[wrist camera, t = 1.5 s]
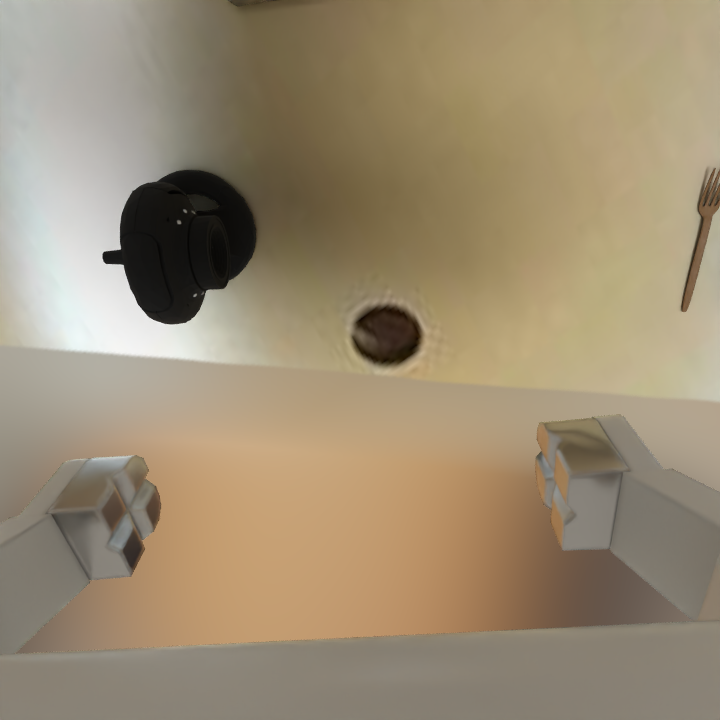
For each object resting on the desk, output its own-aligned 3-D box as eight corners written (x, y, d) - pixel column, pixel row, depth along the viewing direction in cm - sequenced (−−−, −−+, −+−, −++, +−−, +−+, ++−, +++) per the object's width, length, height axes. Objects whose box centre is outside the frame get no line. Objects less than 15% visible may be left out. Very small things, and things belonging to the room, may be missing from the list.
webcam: (265, 281, 35) (229, 345, 26) (161, 285, 36) (91, 350, 27) (247, 163, 32) (199, 192, 23) (132, 169, 32) (40, 200, 23)
